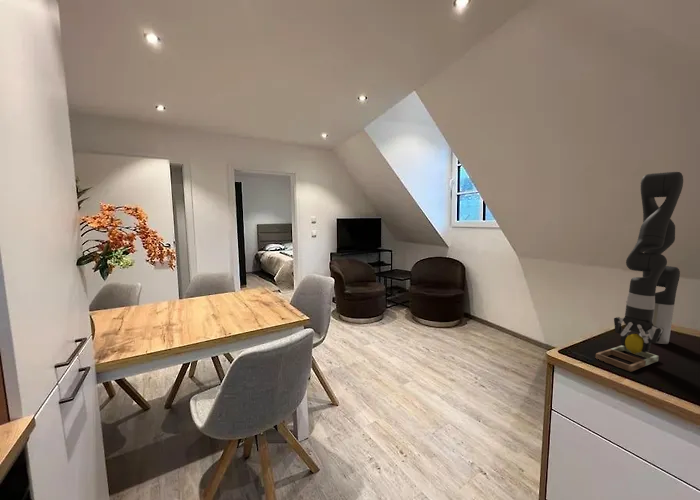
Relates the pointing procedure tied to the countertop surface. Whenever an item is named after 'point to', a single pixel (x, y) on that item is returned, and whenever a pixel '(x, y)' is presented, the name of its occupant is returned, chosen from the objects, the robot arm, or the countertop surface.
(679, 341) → the countertop surface
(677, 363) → the countertop surface
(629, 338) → the lemon
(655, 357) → the frame
